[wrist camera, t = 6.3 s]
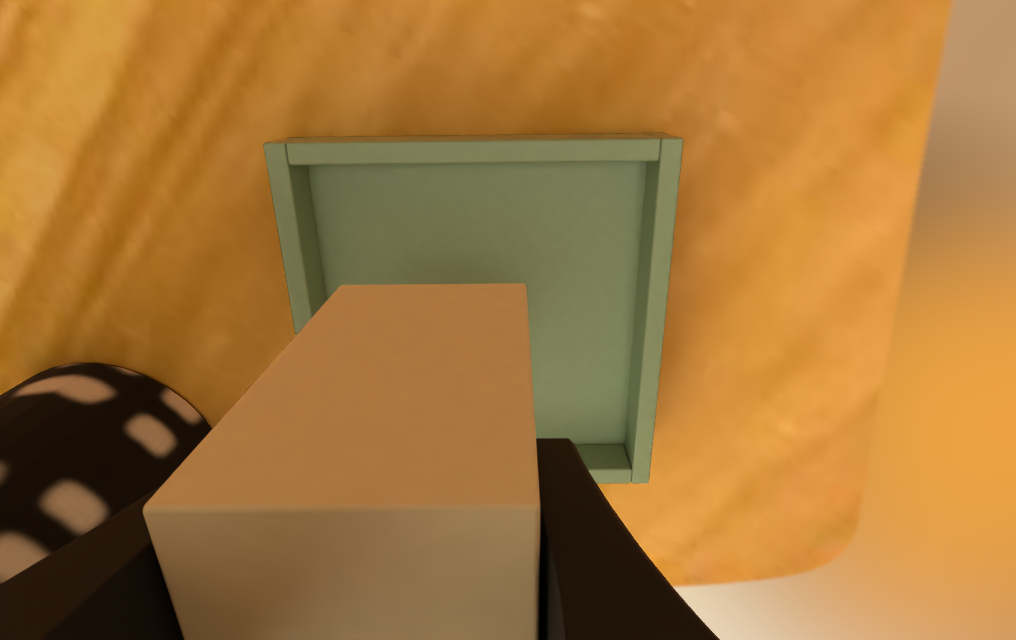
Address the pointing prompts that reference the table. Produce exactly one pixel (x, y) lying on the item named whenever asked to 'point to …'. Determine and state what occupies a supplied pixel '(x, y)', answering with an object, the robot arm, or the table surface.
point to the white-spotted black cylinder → (83, 453)
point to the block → (368, 480)
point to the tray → (507, 254)
